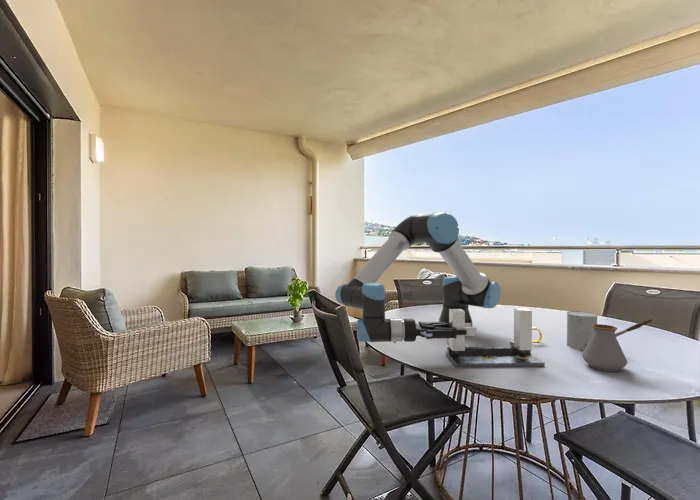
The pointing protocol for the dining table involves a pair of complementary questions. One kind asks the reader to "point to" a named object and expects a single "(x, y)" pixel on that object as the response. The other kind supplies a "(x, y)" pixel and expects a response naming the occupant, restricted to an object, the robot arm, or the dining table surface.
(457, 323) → the block
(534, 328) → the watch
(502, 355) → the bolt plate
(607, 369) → the coffee pot
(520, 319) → the fixed leg
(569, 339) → the grey concrete cylinder
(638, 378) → the dining table surface
